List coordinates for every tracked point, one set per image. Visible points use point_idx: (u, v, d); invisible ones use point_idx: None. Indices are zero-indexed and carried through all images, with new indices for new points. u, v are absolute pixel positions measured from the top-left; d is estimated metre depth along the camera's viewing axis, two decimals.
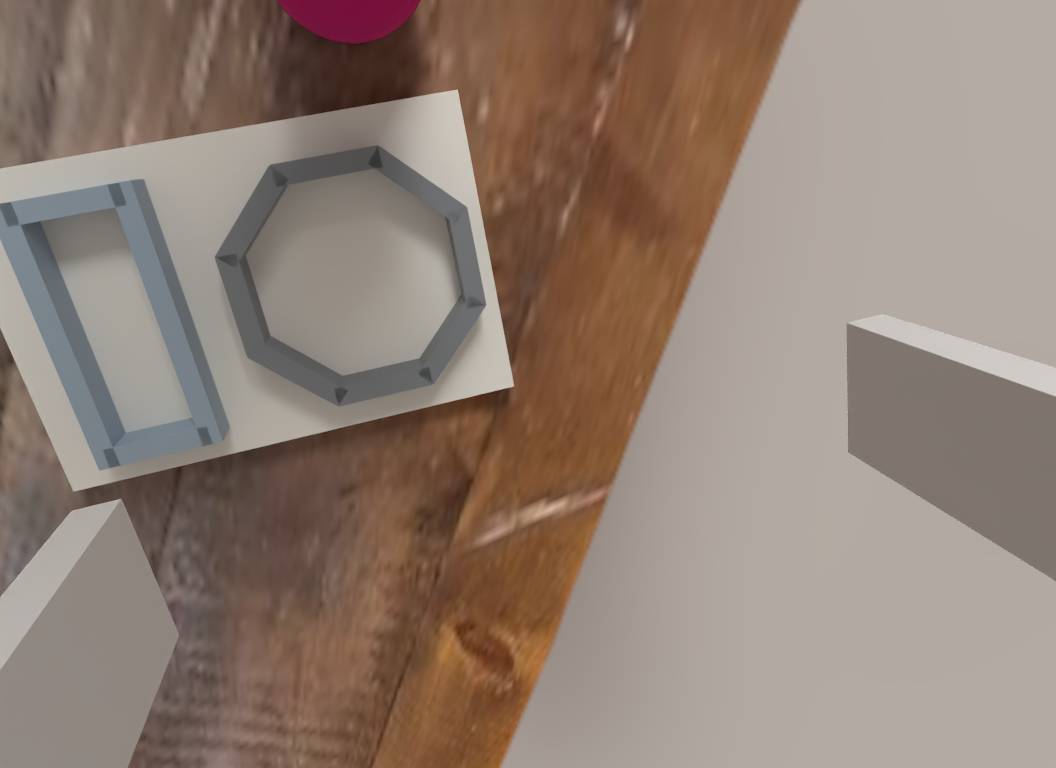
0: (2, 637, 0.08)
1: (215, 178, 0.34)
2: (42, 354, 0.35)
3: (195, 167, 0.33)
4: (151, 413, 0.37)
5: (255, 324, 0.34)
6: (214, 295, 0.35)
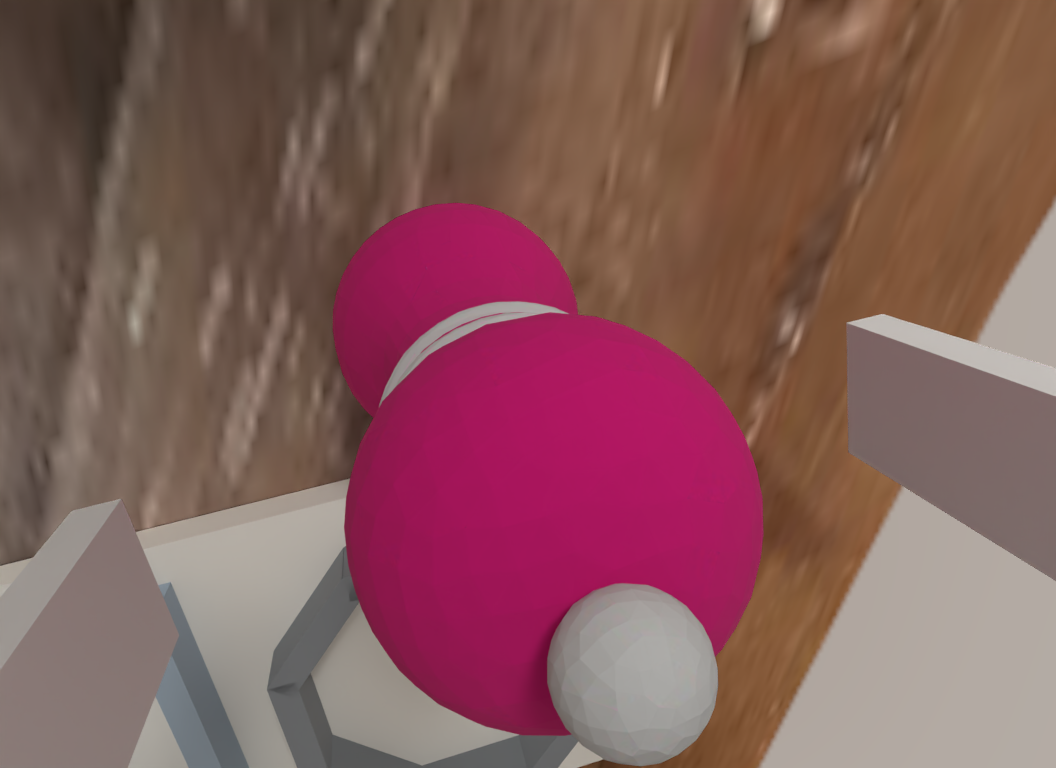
0: (2, 637, 0.08)
1: (265, 571, 0.25)
2: None
3: (239, 561, 0.25)
4: None
5: (319, 756, 0.26)
6: (261, 700, 0.27)
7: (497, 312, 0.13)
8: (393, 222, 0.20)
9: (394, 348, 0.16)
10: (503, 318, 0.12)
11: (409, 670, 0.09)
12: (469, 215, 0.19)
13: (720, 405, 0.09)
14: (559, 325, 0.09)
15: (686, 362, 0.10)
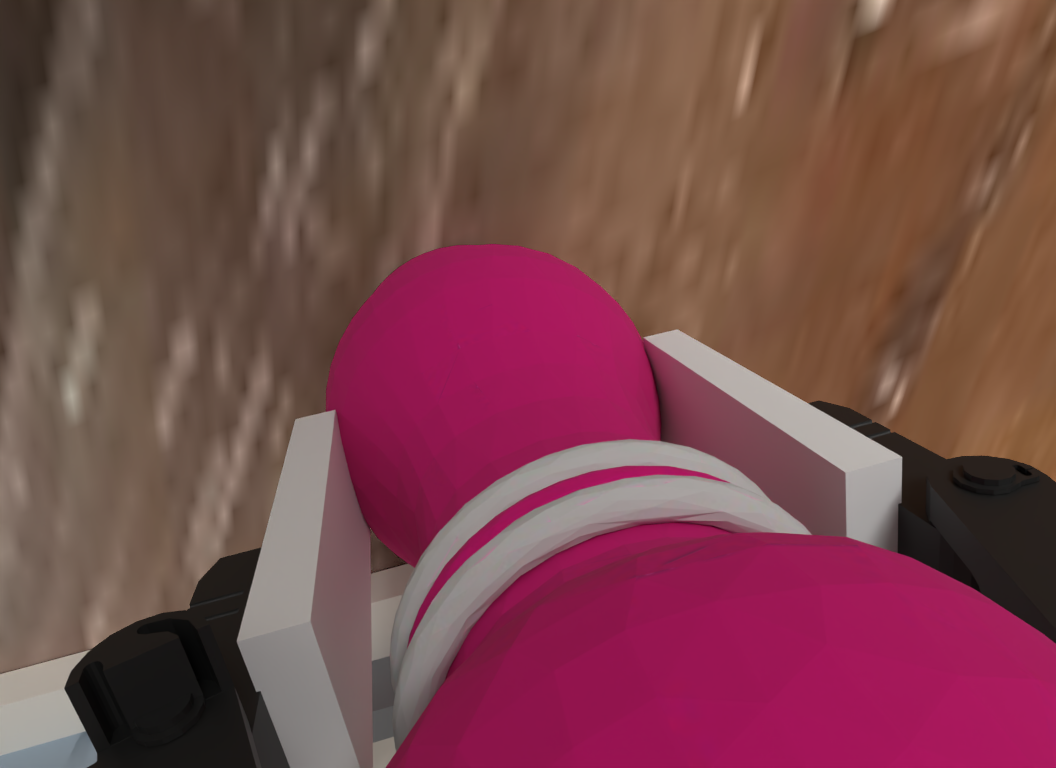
0: (307, 491, 0.10)
1: None
2: None
3: None
4: None
5: None
6: None
7: (600, 464, 0.07)
8: (408, 272, 0.14)
9: (414, 475, 0.10)
10: (623, 493, 0.06)
11: None
12: (515, 265, 0.14)
13: None
14: (834, 618, 0.04)
15: None
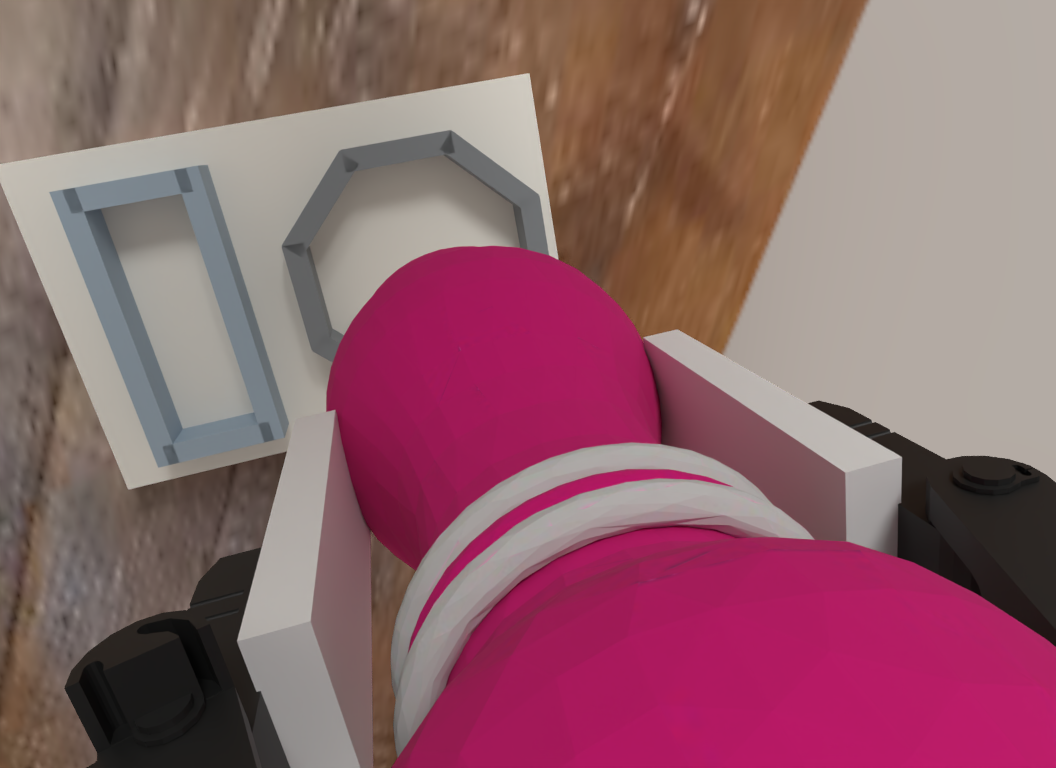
0: (307, 491, 0.10)
1: (280, 164, 0.33)
2: (100, 347, 0.33)
3: (260, 153, 0.32)
4: (209, 409, 0.35)
5: (321, 316, 0.33)
6: (276, 286, 0.34)
7: (601, 468, 0.07)
8: (408, 273, 0.14)
9: (415, 478, 0.10)
10: (624, 496, 0.06)
11: None
12: (515, 266, 0.13)
13: None
14: (838, 623, 0.04)
15: None
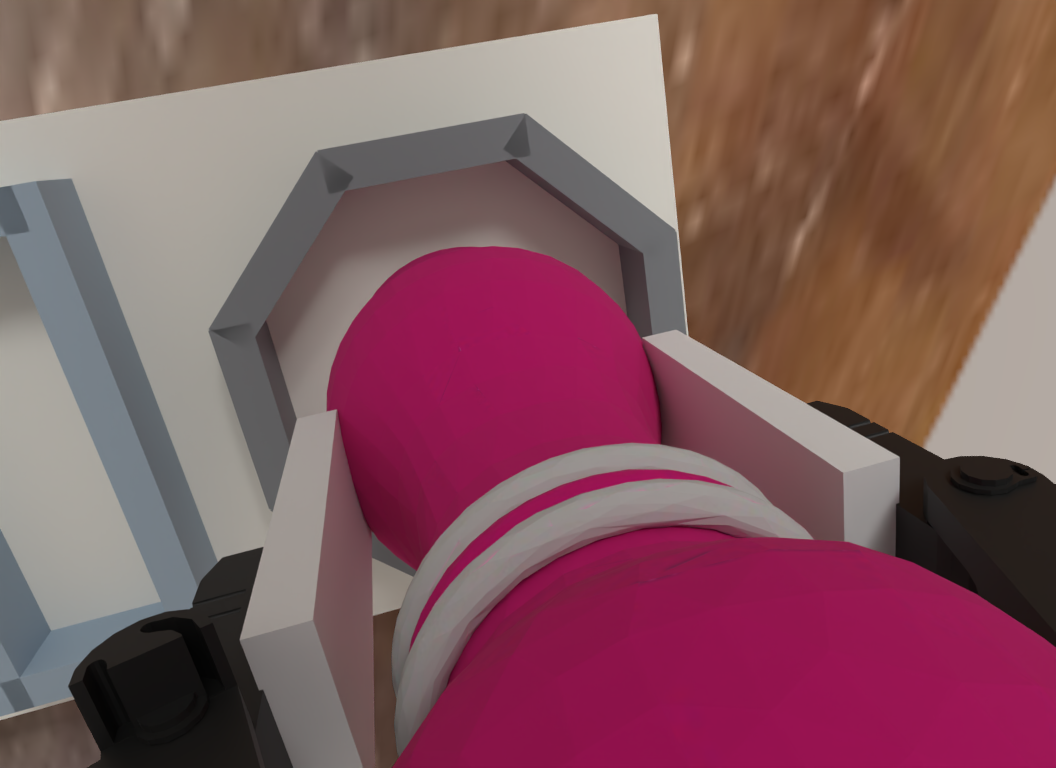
0: (309, 490, 0.10)
1: (210, 177, 0.18)
2: None
3: (171, 156, 0.17)
4: (97, 596, 0.20)
5: (285, 452, 0.18)
6: (208, 391, 0.19)
7: (601, 468, 0.07)
8: (408, 274, 0.14)
9: (415, 478, 0.10)
10: (624, 496, 0.06)
11: None
12: (516, 267, 0.14)
13: None
14: (835, 623, 0.04)
15: None
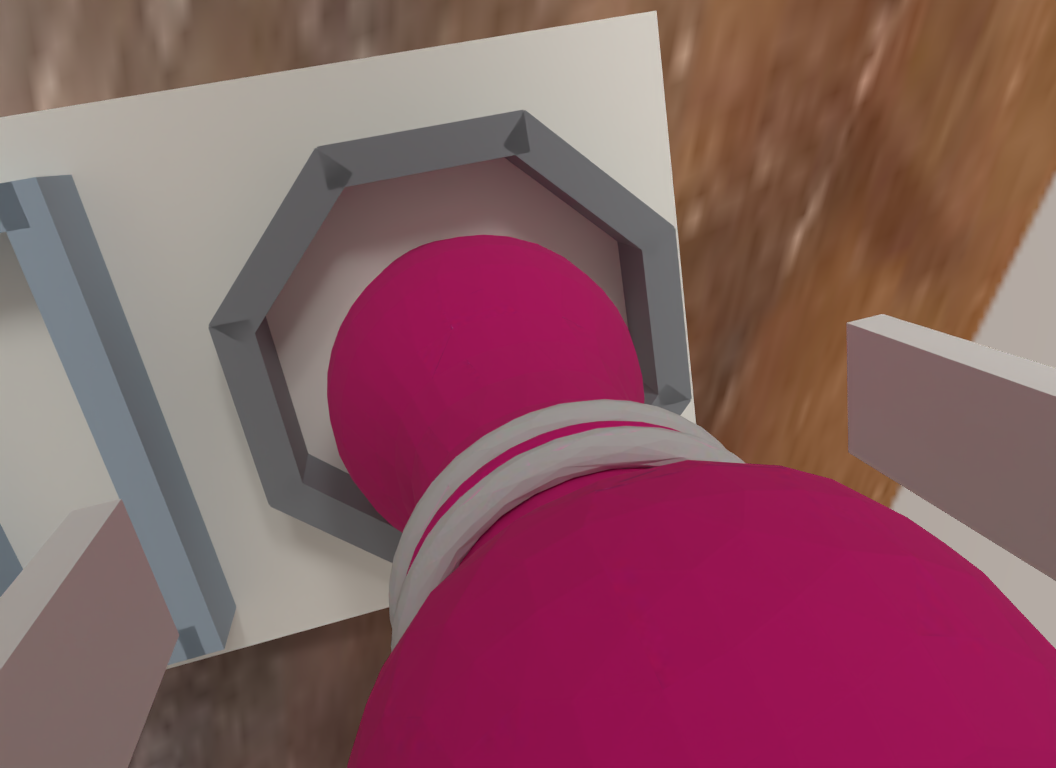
0: (2, 637, 0.08)
1: (209, 174, 0.18)
2: None
3: (171, 153, 0.17)
4: None
5: (285, 448, 0.18)
6: (208, 387, 0.19)
7: (576, 420, 0.08)
8: (404, 260, 0.15)
9: (410, 444, 0.11)
10: (594, 439, 0.07)
11: None
12: (504, 252, 0.14)
13: None
14: (754, 511, 0.05)
15: (970, 563, 0.05)
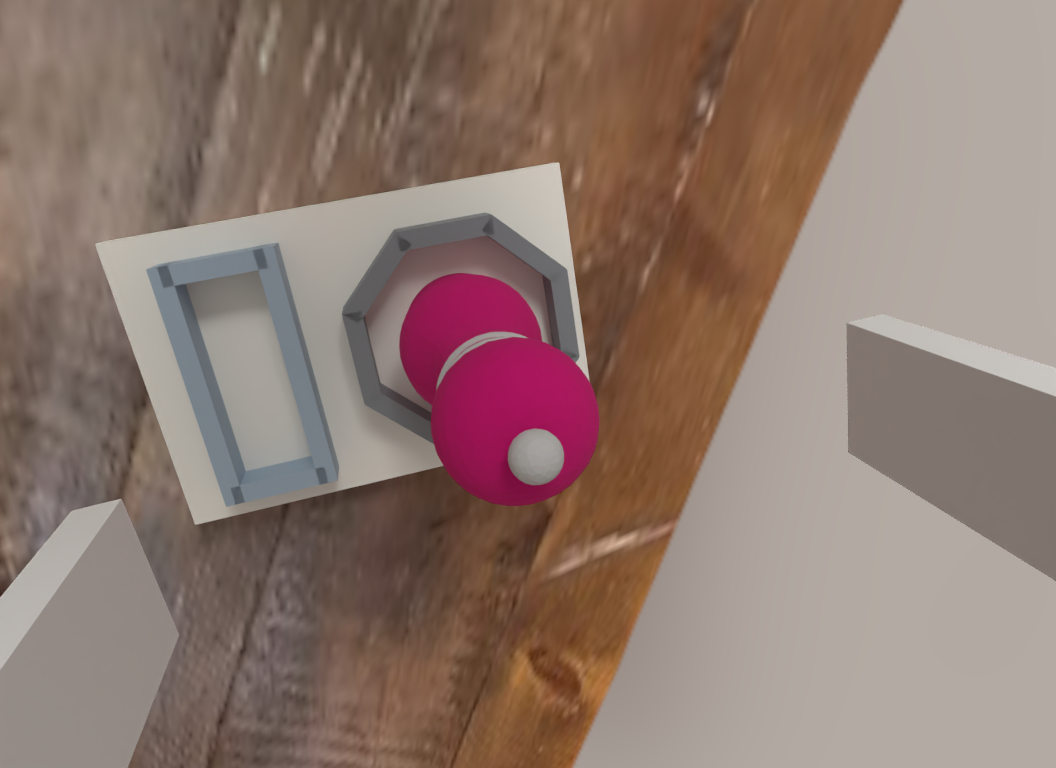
0: (2, 637, 0.08)
1: (341, 241, 0.37)
2: (177, 399, 0.38)
3: (324, 232, 0.37)
4: (270, 453, 0.40)
5: (374, 375, 0.38)
6: (333, 346, 0.39)
7: (493, 336, 0.27)
8: (436, 285, 0.34)
9: (440, 355, 0.31)
10: (495, 339, 0.27)
11: (458, 470, 0.23)
12: (479, 283, 0.34)
13: (578, 372, 0.24)
14: (516, 341, 0.24)
15: (567, 356, 0.24)
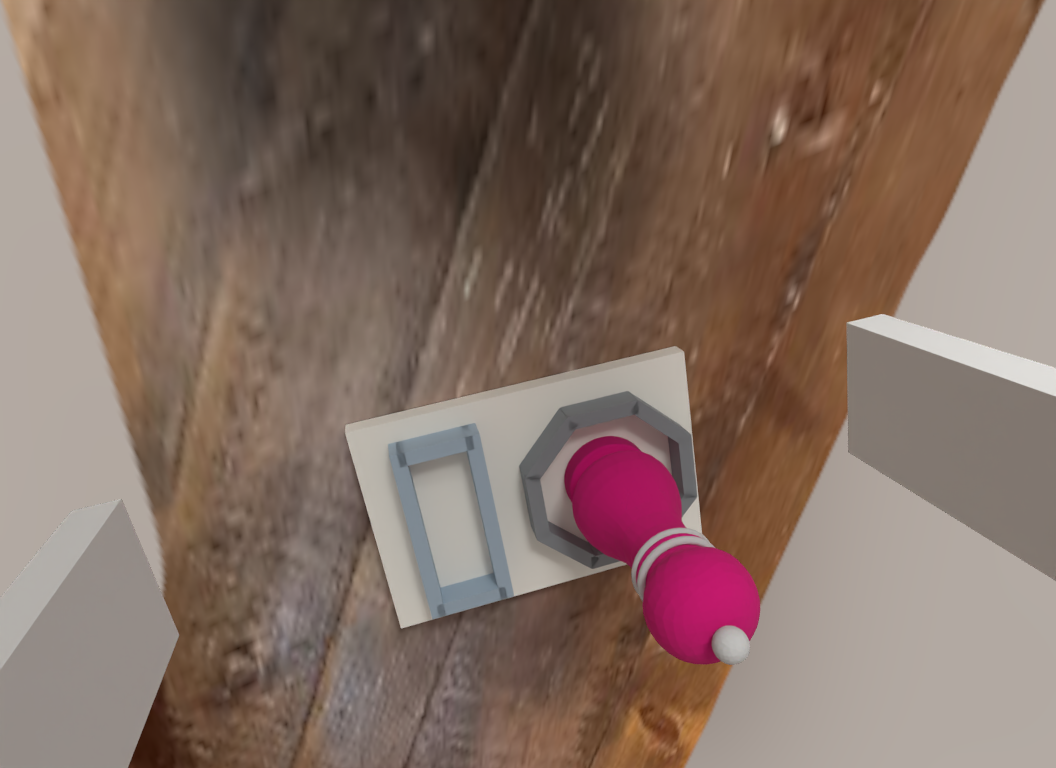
0: (2, 637, 0.08)
1: (520, 419, 0.49)
2: (394, 538, 0.49)
3: (508, 413, 0.48)
4: (459, 574, 0.51)
5: (545, 519, 0.49)
6: (510, 494, 0.50)
7: (673, 533, 0.39)
8: (603, 462, 0.46)
9: (622, 530, 0.42)
10: (679, 539, 0.38)
11: (671, 646, 0.35)
12: (638, 463, 0.45)
13: (748, 577, 0.35)
14: (706, 556, 0.35)
15: (738, 563, 0.36)
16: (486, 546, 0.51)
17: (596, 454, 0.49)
